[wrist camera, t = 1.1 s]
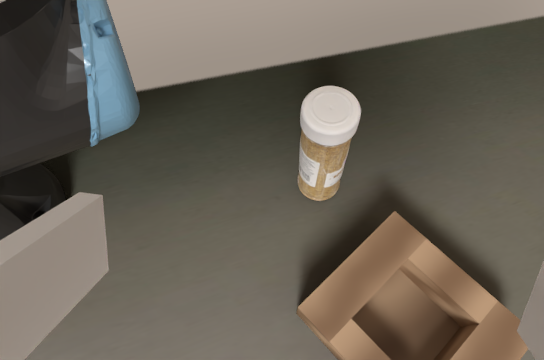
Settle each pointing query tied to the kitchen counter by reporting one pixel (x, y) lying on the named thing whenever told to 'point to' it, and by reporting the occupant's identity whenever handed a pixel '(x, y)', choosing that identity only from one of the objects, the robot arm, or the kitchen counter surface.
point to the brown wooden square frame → (408, 305)
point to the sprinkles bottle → (325, 139)
